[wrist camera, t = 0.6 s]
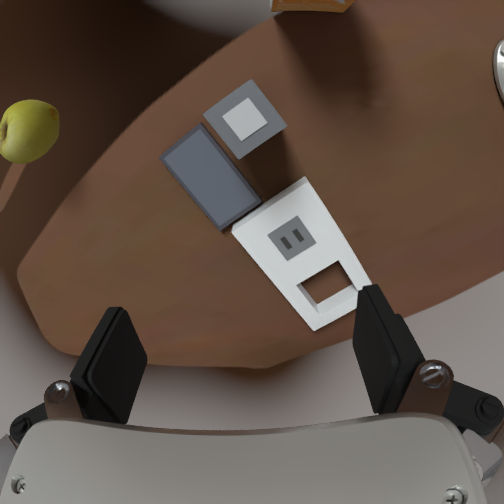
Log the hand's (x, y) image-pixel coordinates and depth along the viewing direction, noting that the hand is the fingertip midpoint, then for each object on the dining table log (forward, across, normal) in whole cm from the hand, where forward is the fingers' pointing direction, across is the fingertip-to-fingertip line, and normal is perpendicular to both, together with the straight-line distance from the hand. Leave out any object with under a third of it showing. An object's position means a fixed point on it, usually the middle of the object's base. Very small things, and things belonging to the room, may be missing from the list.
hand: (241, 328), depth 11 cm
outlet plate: (+24, -6, +10) cm, 27 cm away
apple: (+25, +25, -12) cm, 37 cm away
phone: (+24, +4, -1) cm, 24 cm away
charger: (+24, -1, -7) cm, 25 cm away
